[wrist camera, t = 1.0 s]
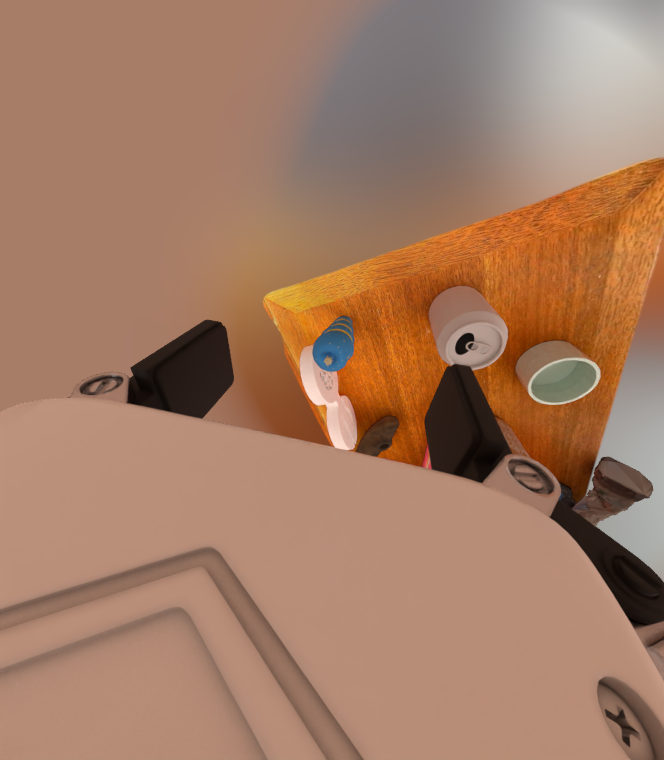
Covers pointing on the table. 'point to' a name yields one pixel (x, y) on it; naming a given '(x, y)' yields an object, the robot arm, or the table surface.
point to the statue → (612, 490)
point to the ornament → (334, 345)
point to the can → (467, 328)
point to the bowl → (557, 373)
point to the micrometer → (566, 496)
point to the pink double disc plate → (329, 400)
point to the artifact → (378, 436)
